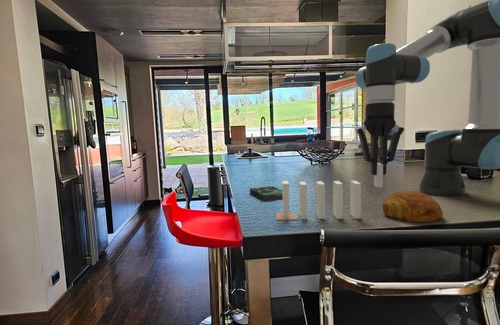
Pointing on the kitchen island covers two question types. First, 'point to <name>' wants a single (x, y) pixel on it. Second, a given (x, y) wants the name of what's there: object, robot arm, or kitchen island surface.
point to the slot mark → (291, 217)
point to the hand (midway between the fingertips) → (378, 186)
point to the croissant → (412, 207)
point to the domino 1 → (285, 198)
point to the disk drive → (267, 193)
